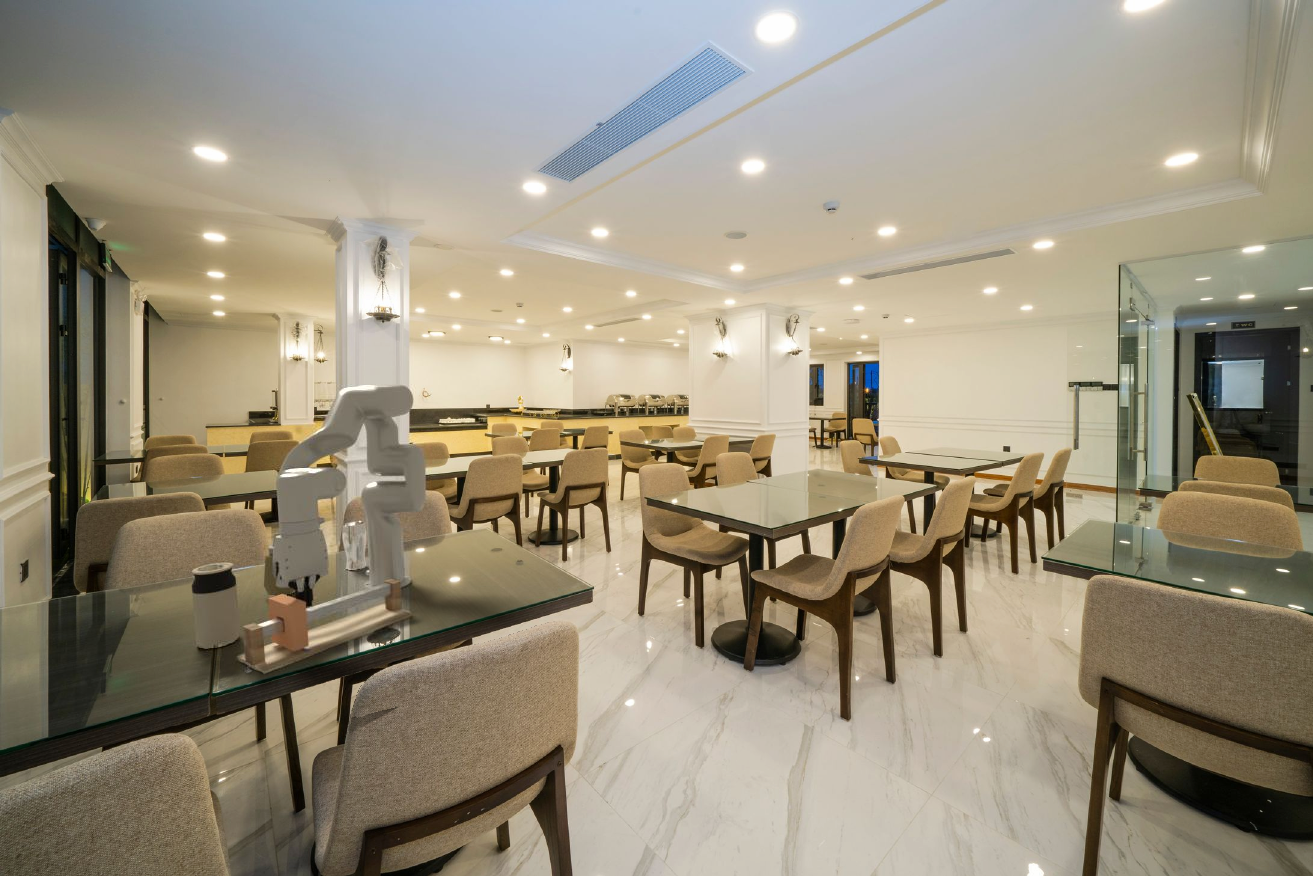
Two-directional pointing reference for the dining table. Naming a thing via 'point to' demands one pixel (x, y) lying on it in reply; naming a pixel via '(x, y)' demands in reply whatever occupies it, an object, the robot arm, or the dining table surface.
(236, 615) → the travel mug
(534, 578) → the dining table surface
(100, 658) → the dining table surface
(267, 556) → the squeeze bottle
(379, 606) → the pipe stand
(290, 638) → the collar
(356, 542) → the beer glass
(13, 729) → the dining table surface
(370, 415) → the robot arm
